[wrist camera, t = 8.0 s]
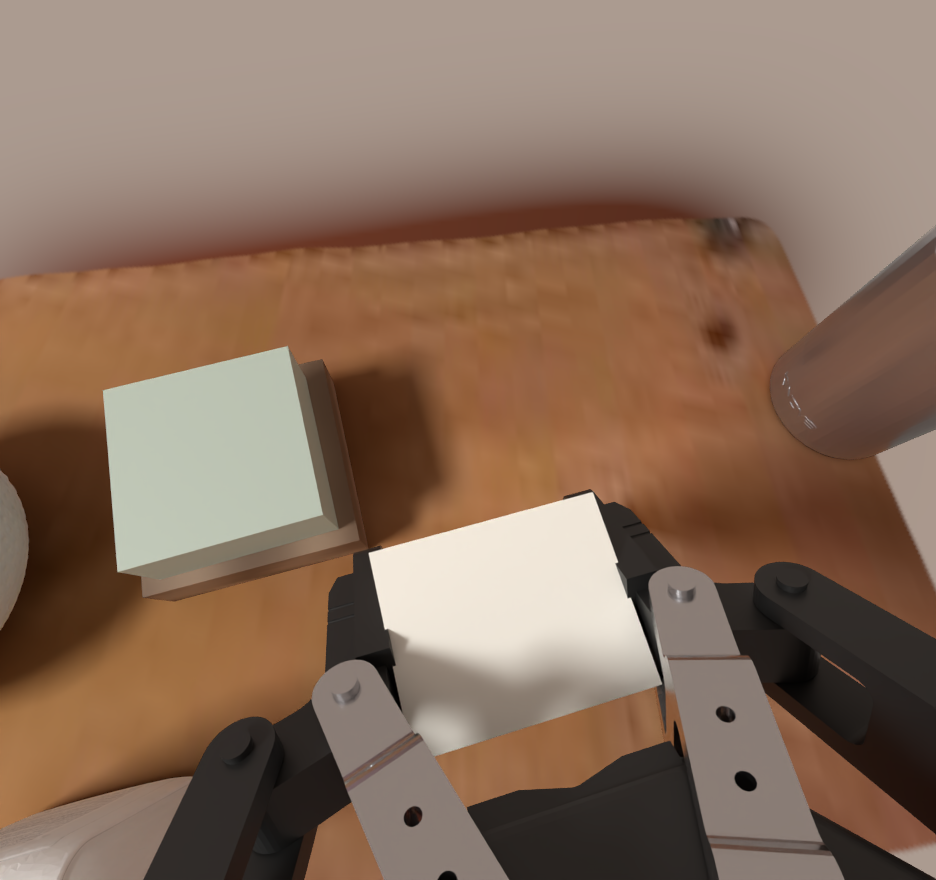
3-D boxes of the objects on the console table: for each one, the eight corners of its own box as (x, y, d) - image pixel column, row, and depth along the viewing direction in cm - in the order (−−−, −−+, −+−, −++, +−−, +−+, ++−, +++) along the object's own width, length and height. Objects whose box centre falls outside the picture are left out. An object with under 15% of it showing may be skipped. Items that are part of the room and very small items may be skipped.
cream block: (540, 545, 19) (593, 492, 12) (577, 661, 18) (662, 684, 11) (404, 583, 19) (368, 553, 11) (432, 705, 18) (413, 763, 10)
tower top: (305, 377, 34) (287, 346, 30) (338, 528, 31) (322, 514, 27) (143, 418, 33) (102, 390, 29) (160, 579, 30) (117, 572, 26)
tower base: (335, 386, 38) (322, 359, 35) (369, 550, 34) (359, 540, 31) (161, 426, 37) (128, 402, 33) (177, 601, 33) (142, 597, 29)
